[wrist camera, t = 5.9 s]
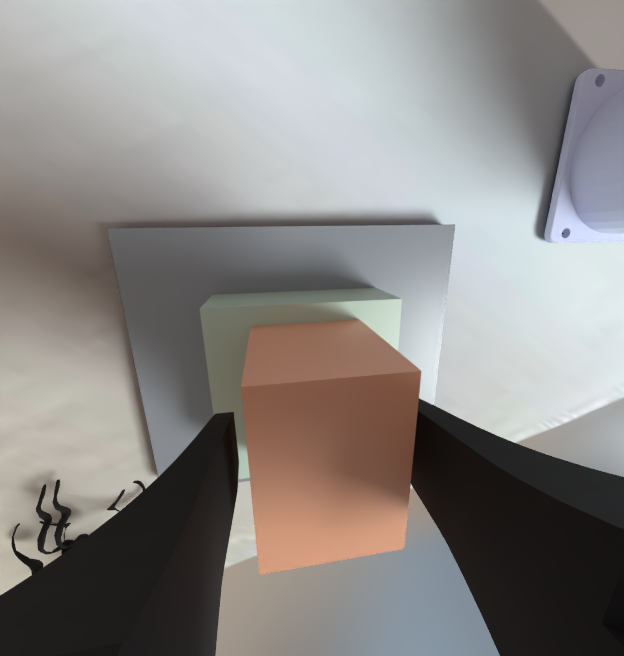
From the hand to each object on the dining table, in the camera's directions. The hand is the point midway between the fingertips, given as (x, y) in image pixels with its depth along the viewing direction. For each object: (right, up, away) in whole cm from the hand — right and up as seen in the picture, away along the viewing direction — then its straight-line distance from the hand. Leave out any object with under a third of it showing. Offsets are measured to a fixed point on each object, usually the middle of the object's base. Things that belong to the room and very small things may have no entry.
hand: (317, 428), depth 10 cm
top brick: (0, +1, +2) cm, 2 cm away
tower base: (-1, +2, +6) cm, 6 cm away
